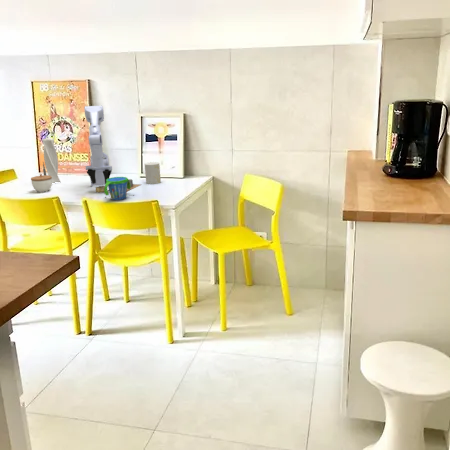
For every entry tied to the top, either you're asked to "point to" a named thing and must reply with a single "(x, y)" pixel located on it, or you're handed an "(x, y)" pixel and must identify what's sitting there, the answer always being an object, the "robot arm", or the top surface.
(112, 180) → the snack cup
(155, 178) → the cup
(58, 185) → the top surface
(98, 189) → the brass gear
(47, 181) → the lidded jar
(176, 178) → the top surface
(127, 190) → the gear board
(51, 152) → the skyscraper
